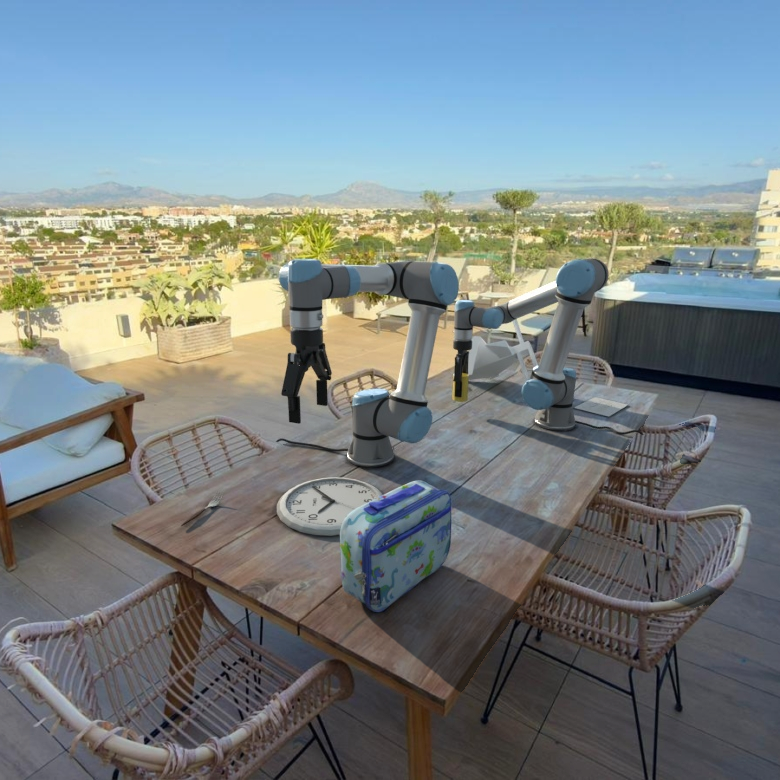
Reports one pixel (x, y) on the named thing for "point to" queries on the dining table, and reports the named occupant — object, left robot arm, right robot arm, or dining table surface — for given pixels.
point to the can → (464, 389)
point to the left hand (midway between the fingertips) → (309, 413)
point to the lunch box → (394, 543)
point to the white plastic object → (498, 356)
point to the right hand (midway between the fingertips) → (460, 394)
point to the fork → (211, 504)
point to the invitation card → (601, 406)
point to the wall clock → (323, 504)
